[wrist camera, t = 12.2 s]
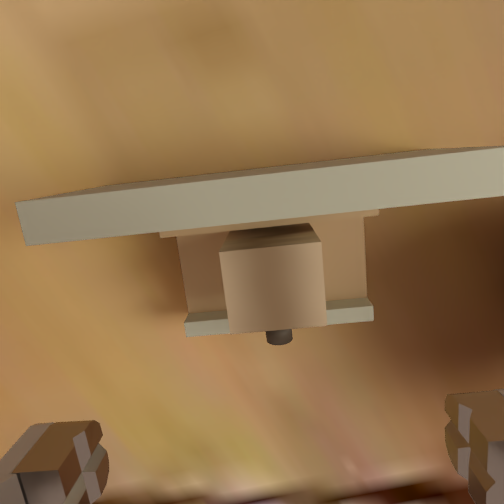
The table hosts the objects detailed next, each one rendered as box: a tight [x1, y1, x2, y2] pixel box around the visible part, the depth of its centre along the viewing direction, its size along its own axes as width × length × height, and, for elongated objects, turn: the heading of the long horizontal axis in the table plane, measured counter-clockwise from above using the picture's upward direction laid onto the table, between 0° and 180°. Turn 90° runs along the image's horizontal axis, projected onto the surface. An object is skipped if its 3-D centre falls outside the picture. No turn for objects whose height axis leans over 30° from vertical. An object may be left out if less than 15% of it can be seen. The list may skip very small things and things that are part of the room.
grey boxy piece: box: [15, 146, 504, 337], centre depth 23 cm, size 22×10×10 cm, turn 96°
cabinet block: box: [219, 223, 327, 345], centre depth 22 cm, size 5×5×6 cm
